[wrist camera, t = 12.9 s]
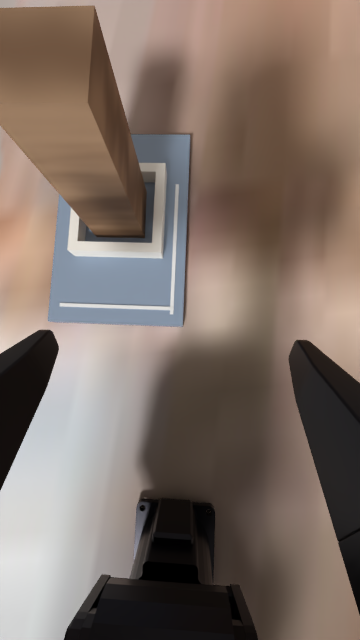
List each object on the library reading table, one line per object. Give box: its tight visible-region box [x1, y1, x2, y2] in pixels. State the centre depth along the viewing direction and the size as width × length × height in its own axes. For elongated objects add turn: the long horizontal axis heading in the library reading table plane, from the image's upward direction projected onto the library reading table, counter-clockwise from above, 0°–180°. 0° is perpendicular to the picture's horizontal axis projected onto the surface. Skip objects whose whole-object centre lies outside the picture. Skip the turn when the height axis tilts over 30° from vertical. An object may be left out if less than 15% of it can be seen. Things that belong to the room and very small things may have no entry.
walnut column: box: [0, 6, 147, 238], centre depth 17 cm, size 4×4×13 cm
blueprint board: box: [48, 134, 190, 327], centre depth 23 cm, size 18×12×2 cm, turn 178°
